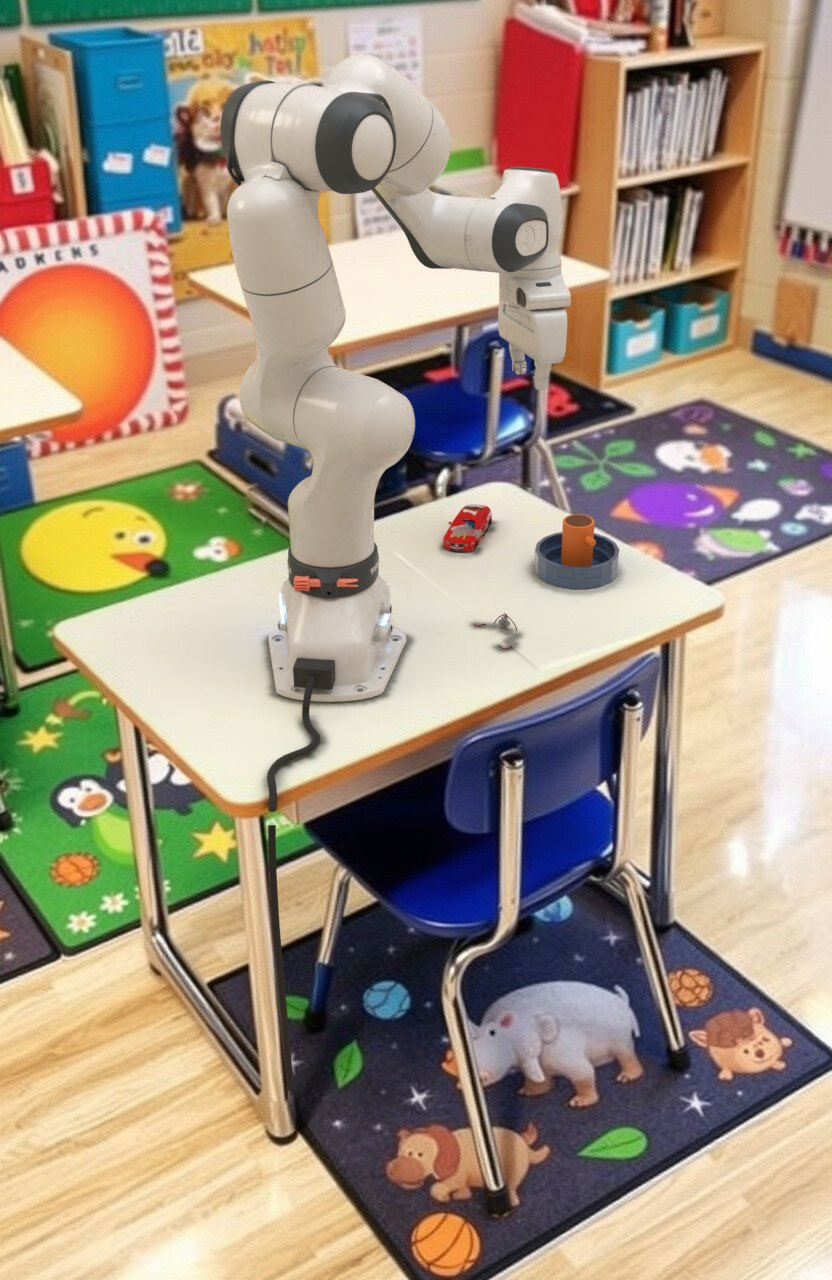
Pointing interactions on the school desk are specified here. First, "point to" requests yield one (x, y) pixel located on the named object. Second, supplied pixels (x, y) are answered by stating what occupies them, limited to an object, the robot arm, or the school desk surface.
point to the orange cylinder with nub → (577, 541)
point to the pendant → (503, 624)
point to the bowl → (576, 577)
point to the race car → (468, 528)
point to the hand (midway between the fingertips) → (529, 380)
